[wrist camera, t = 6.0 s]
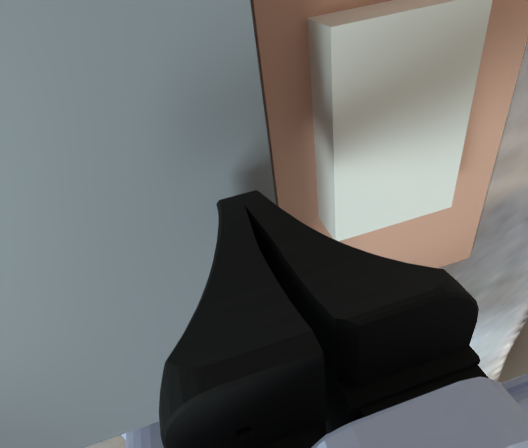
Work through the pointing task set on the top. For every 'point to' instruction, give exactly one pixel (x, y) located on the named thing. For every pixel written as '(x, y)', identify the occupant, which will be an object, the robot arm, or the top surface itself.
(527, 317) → the top surface
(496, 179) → the top surface
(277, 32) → the mat
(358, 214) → the cream rectangular block
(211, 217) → the grey flat block
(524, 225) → the top surface
